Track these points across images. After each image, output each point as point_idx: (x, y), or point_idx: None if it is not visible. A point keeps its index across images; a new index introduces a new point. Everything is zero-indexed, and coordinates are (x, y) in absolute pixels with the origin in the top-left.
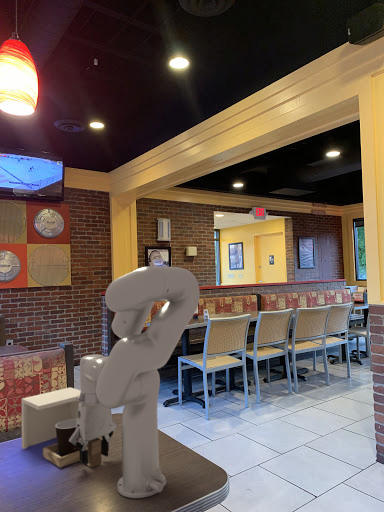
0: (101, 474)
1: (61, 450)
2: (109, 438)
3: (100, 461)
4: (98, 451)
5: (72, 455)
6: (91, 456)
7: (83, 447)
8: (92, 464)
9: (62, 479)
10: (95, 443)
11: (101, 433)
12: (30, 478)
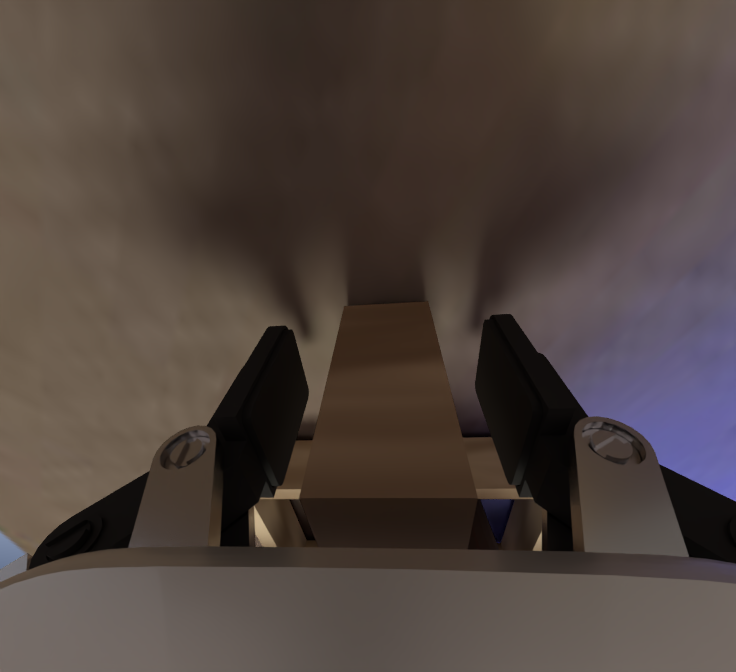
0: (427, 139)
1: (496, 545)
2: (162, 464)
3: (350, 315)
4: (363, 372)
5: (481, 479)
6: (441, 361)
7: (637, 465)
8: (429, 312)
9: (662, 312)
10: (404, 462)
11: (278, 663)
12: (717, 444)
